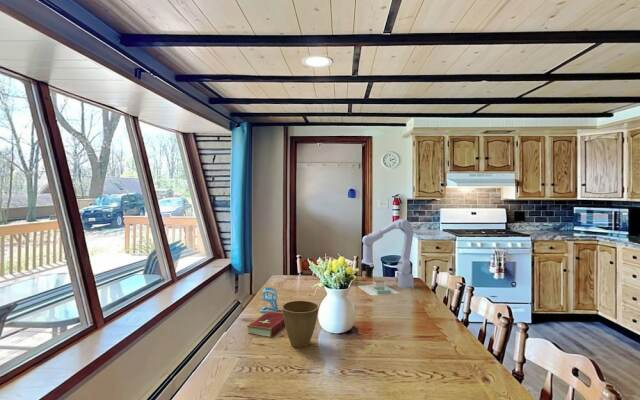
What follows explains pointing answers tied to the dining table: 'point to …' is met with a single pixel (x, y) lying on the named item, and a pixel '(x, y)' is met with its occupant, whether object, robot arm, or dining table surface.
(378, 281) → the cream box
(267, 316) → the hardcover book
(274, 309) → the chair
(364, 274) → the walnut block
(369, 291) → the packing board
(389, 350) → the dining table surface
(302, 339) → the plant pot
